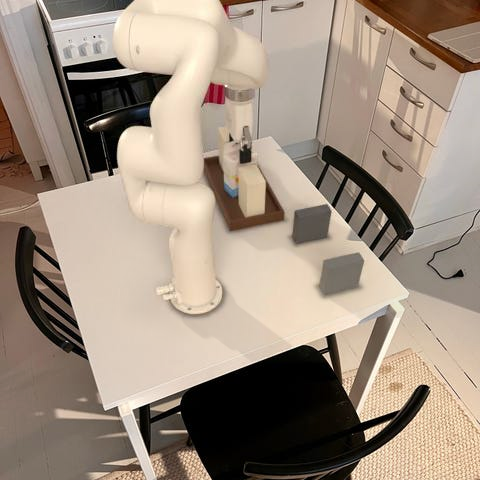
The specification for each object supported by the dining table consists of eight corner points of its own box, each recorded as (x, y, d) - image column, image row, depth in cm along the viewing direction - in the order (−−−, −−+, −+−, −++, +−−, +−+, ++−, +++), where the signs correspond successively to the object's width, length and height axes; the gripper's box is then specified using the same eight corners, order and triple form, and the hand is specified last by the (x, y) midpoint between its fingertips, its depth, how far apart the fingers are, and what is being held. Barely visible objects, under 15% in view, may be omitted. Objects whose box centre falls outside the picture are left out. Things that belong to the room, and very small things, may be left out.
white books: (247, 221, 137) (247, 184, 128) (219, 163, 155) (217, 127, 146) (264, 218, 138) (265, 181, 129) (234, 160, 156) (234, 124, 147)
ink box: (232, 198, 144) (232, 152, 132) (223, 189, 147) (222, 144, 135) (257, 188, 147) (258, 143, 135) (247, 180, 149) (248, 134, 138)
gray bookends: (323, 295, 121) (328, 268, 115) (291, 237, 135) (294, 210, 128) (357, 287, 123) (364, 260, 116) (322, 230, 136) (327, 203, 130)
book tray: (229, 231, 136) (229, 222, 134) (201, 166, 156) (201, 158, 153) (283, 220, 139) (284, 211, 137) (249, 158, 159) (249, 150, 156)
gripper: (216, 77, 129) (218, 138, 142) (235, 109, 118) (235, 172, 131) (244, 73, 130) (243, 134, 143) (265, 105, 120) (263, 168, 133)
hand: (240, 152), depth 137 cm, fingers open, 9 cm apart
